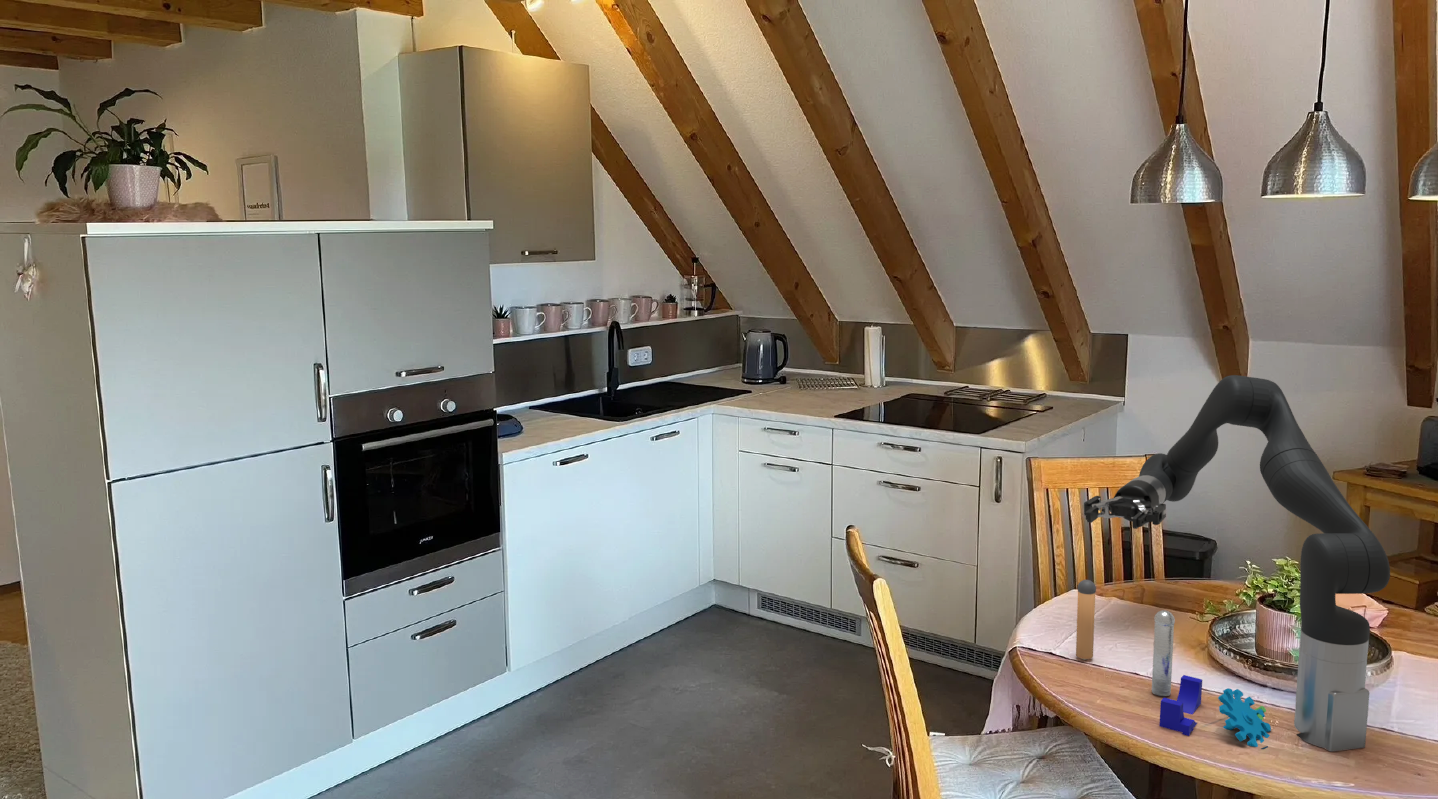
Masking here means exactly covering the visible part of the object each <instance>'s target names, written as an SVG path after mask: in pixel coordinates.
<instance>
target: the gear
mask: <svg viewBox="0 0 1438 799" xmlns="http://www.w3.org/2000/svg"><path fill="white" fill-rule="evenodd" d="M1222 692H1223V694H1221V695H1219V696H1218V697H1217V699H1218V701H1219V702H1220V703H1222V704H1221V705H1219V707H1218V711H1219V713H1220V714H1222V715H1226V716H1227V717H1228V718H1227V719H1225V720H1224V723H1225V725H1224V726H1222V728H1223V729H1224V730H1228V731H1232V730H1234V729H1236V728H1237V729H1238V730H1239V731H1238V732H1236V733H1234V736H1235V737H1236V739H1237V740H1239V742H1242V741H1244V740H1246V739H1247V737H1248V739H1249V740H1248V741H1247V744H1246V745H1247V746H1248V747H1253V748H1258V747H1259V744H1258V741H1257V740H1259V742H1260V744H1262V743H1264V742H1265V739H1264V738H1266V739H1268V738H1270V736H1271V735H1270V734H1269V732H1271V731H1272V727H1271V724H1270V723H1268V722H1265V721H1264V718H1265V717H1266V715H1265V713H1266V712H1267V710H1266V707H1264V706H1263V705H1260V706H1259V707H1257V708H1255V709H1254V708H1252V706H1253V705H1255V703H1256V702H1255V701H1254V699H1253V698H1252V697H1251V696H1248V697H1246V698H1244V701H1243V700H1242V697H1243V696H1244V693H1243V691H1242V690H1240V689H1238V688H1236V689H1234V690H1233V689H1231V688H1229V687H1228V688H1227V687H1226V688H1225V689H1223V690H1222ZM1268 747H1269V746H1268V745H1267V746H1264V747H1261V748H1260V750H1265V749H1267V748H1268Z"/></svg>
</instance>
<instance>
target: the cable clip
mask: <svg viewBox="0 0 1438 799" xmlns="http://www.w3.org/2000/svg"><path fill="white" fill-rule="evenodd" d="M1202 691H1203V679H1201V678H1198V677H1194V676H1189V675H1185V674H1183V675H1182V676H1181V677H1180V684H1179V691H1178V695H1177V698H1176V700H1174V699H1172V698H1168V697H1163V698H1162V699H1161V700H1160V706H1159V708H1160V709H1159V710H1160V711H1159V723H1158V724H1159V727H1161V728H1164V729H1168V730H1172V731H1175V732H1177V733H1178V732H1180V735H1184V736H1187V737H1190V735H1191V732H1193V731H1194V730H1195V727H1196V726H1197V724H1198V722H1196V721H1195V719H1192V718H1188V717H1185V714H1188V715H1193V714H1194V713H1195V712H1196V711H1197V710H1198V708H1199V707H1200V706H1201V704H1202V694H1203V692H1202ZM1184 713H1185V714H1184Z"/></svg>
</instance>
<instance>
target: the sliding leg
mask: <svg viewBox="0 0 1438 799" xmlns="http://www.w3.org/2000/svg"><path fill="white" fill-rule="evenodd" d="M1096 591H1097V586H1096V584H1095V583H1094V582H1093V581H1092V580H1091V579H1083V580H1080V582H1078V585H1077V609H1076V611H1077V612H1076V613H1077V614H1076V637H1075V638H1076V640H1075V641H1076V642H1075V646H1076V647H1075V656H1076V657H1077V658H1079V659H1081V660H1084V661H1087V660H1091V659H1093V658H1094V645H1095V644H1094V640H1095V639H1094V638H1095V637H1094V636H1095V611H1096V609H1095V608H1096Z"/></svg>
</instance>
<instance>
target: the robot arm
mask: <svg viewBox="0 0 1438 799" xmlns="http://www.w3.org/2000/svg"><path fill="white" fill-rule="evenodd" d="M1225 424H1230V425H1232V426H1240V427H1247V428H1253V429H1254V428H1255V429H1257V430H1259V431H1260V432H1261V433H1263V435H1264V436H1265V439H1266V440H1267V443H1266V445H1265V447H1264V449H1263V452H1262V454H1261V456H1260V462H1259V472H1260V473H1261V476H1262V478H1263V480H1264V482H1265V485H1266V486H1267V488H1268V490H1269V492H1270V493H1271V495H1272V497H1273V499H1275V501H1276V502H1277V503H1278V504H1279V505H1281V507H1283V508H1284V509H1285V510H1287V511H1288V512H1290V513H1291V514H1293V515H1294V516H1296V517H1298V518H1300V519H1301V520H1303V521H1305V522H1307V523H1308V524H1310V525H1311V526H1313V527H1315V528H1316V529H1317V530H1320V531H1321V533H1313V534H1310V535H1308V536H1307V537H1306V539H1305V540H1304V542H1303V544H1302V548H1301V551H1300V561H1299V562H1300V563H1299V564H1300V565H1299V566H1300V569H1299V570H1300V573H1299V574H1300V576H1299V578H1300V581H1299V582H1300V584H1299V587H1300V588H1299V591H1300V592H1299V593H1300V594H1299V609H1300V619H1301V622H1300V634H1299V636H1300V638H1299V649H1298V663H1297V664H1298V665H1297V678H1296V679H1297V680H1296V692H1295V704H1294V705H1295V706H1294V721H1293V722H1294V724H1293V725H1294V727H1295V729H1296V731H1298V732H1299V733H1296V736H1297V737H1298V738H1299V739H1300V740H1303V741H1304V742H1306V743H1309V744H1311V745H1314V746H1317V747H1319V748H1323V749H1325V750H1327V751H1328V752H1338V751H1347V750H1355V749H1364V748H1366V739H1367V727H1368V715H1369V703H1370V702H1369V701H1370V690H1369V689H1367V688H1366V676H1367V666H1368V664H1367V662H1368V653H1369V640H1370V632H1371V631H1370V629H1371V627H1370V622H1369V621H1368V619H1367V618H1366V617H1364V616H1363V615H1362V614H1360V613H1358V612H1356V611H1355V610H1354V611H1353V610H1351V609H1348V608H1345V607H1341V606H1340V605H1337V602H1336V600H1337V599H1336V595H1337V594H1338V595H1344V594H1345V595H1351V594H1352V595H1355V594H1357V595H1360V594H1361V595H1363V594H1374V593H1378V592H1380V591H1382V590H1383V589H1385V588H1386V587H1387V585H1388V584H1389V581H1390V579H1391V568H1390V562H1389V558H1388V555H1387V554H1386V551H1385V548H1384V547H1383V545H1382V543H1381V541H1380V540H1379V539H1378V538H1377V536H1376V535H1375V534H1374V532H1373V531H1372V530H1371V529H1370V528H1369V527H1368V525H1367V524H1366V523H1365V522H1364V521H1363V519H1362V518H1361V517H1360V516H1359V515H1358V513H1357V512H1356V511H1355V510H1354V508H1352V506H1351V505H1350V504H1349V502H1348V501H1347V500H1346V498H1345V497H1344V495H1343V494H1342V493H1341V491H1340V490H1339V488H1338V487H1337V485H1336V484H1335V482H1334V480H1333V479H1332V476H1331V475H1330V473H1329V471H1328V470H1327V468H1326V466H1325V465H1324V463H1323V462H1322V460H1321V458H1320V457H1319V455H1318V454H1317V453H1316V452H1315V450H1314V449H1313V447H1312V446H1311V444H1310V443H1309V441H1308V440H1307V438H1306V435H1305V434H1304V433H1303V431H1302V429H1301V428H1300V426H1299V423H1298V421H1297V420H1296V417H1295V415H1294V413H1293V411H1292V409H1291V406H1290V404H1289V402H1288V400H1287V398H1286V396H1285V394H1284V392H1283V390H1282V388H1281V387H1280V386H1279V385H1278V384H1277V383H1276V382H1275V381H1273V380H1270V379H1265V378H1259V377H1254V376H1253V377H1252V376H1245V375H1237V374H1232V375H1227V376H1225V377H1223V378H1222V379H1221V380H1219V381H1218V382H1217V384H1216V385H1215V387H1214V388H1213V389H1212V391H1211V392H1210V394H1209V395H1208V397H1207V399H1206V400H1205V402H1204V404H1203V405H1202V407H1201V409H1200V410H1199V412H1198V414H1197V416H1196V418H1195V419H1194V421H1193V422H1192V424H1191V426H1190V427H1189V428H1188V430H1186V432H1185V433H1184V434H1183V435H1182V436H1181V437H1180V438H1179V440H1177V441H1176V442H1175V444H1174V445H1172V447H1171V448H1170V449H1169V450H1168V452H1166V453H1167V454H1166V453H1163V452H1162V453H1161V452H1159V453H1155V454H1153V455H1151V456H1150V457H1148V458H1147V459H1146V461H1144V463H1143V464H1142V466H1141V468H1140V470H1139V475H1138V476H1137V477H1135V478H1133V479H1131V480H1129V482H1127V483H1125V484H1124V485H1123V486H1122V487H1120V488H1119V489H1118V490H1117V491H1116V493H1115V494H1114V496H1113V498H1109V499H1103V500H1102V496H1101V495H1095V496H1092V498H1090V499H1087V500H1086V501H1084V502H1083V515H1084V516H1085V520H1086V521H1087V523H1090V524H1091V523H1094V522H1095V521H1096V520H1097V519H1098V518H1104V519H1113V518H1118V519H1119V518H1121V519H1122V518H1123V519H1124V520H1126V521H1128V522H1132V529H1134V530H1135V529H1136V530H1137V529H1139V528H1141V527H1143V526H1144V525H1145V526H1146V525H1149V523H1151V524H1152V525H1153V526H1154V525H1155V526H1158V525H1160V524H1161V523H1162V522H1163V521H1164V520H1165V518H1166V517H1167V504H1165V502H1167V501H1168V502H1179V501H1181V500H1183V499H1185V498H1186V497H1187V496H1188V495H1189V493H1190V492H1191V491H1192V489H1193V487H1194V485H1195V482H1196V479H1197V476H1198V475H1199V472H1200V471H1201V470H1202V469H1203V468H1204V467H1206V465H1208V464H1209V463H1210V462H1211V461H1212V459H1213V458H1214V457H1215V456H1216V454H1217V452H1218V448H1219V435H1218V428H1220V427H1221V426H1223V425H1225ZM1099 511H1101V512H1099Z"/></svg>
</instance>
